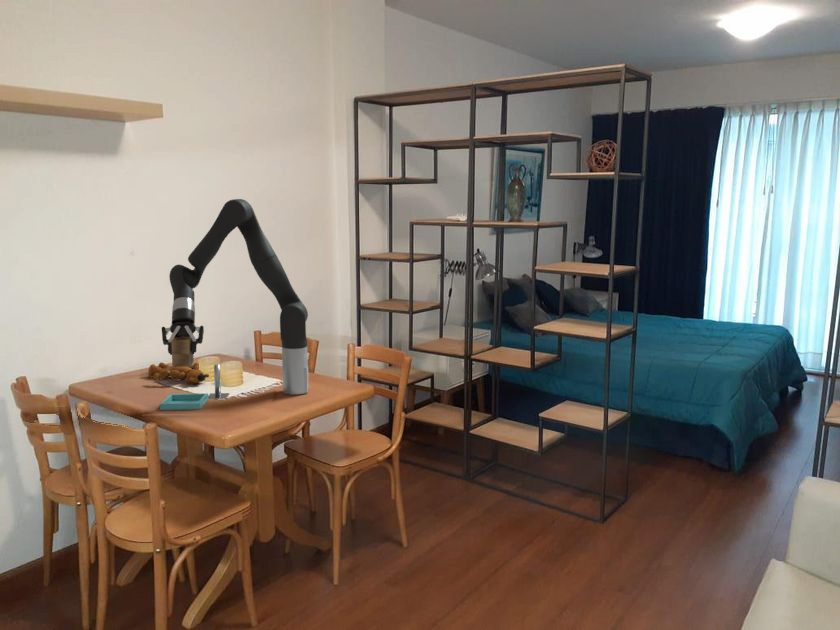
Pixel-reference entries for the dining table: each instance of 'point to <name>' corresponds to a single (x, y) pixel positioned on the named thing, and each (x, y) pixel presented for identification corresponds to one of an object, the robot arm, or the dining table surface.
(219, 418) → the dining table surface
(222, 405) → the dining table surface
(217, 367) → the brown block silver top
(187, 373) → the toy
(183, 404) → the tray
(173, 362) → the sleeve
